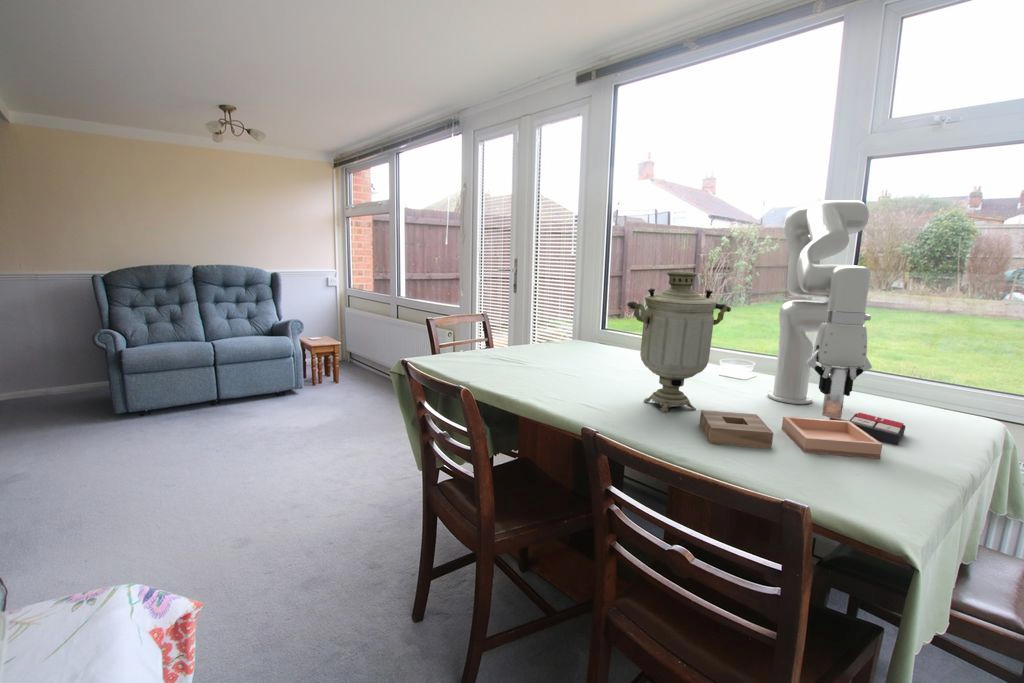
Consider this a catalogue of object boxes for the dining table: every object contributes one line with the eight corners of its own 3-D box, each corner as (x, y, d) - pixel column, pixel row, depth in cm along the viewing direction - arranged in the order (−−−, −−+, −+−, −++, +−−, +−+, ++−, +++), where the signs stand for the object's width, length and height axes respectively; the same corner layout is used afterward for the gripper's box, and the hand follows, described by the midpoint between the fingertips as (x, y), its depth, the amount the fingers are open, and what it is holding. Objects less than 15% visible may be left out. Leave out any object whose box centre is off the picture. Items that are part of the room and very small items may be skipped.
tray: (781, 428, 133) (783, 416, 132) (847, 434, 130) (849, 421, 130) (804, 452, 118) (806, 438, 117) (880, 458, 115) (882, 444, 114)
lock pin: (819, 412, 125) (825, 365, 123) (836, 414, 124) (843, 366, 122) (825, 417, 121) (832, 369, 119) (844, 419, 120) (851, 370, 118)
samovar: (706, 393, 165) (718, 271, 158) (733, 419, 140) (748, 275, 133) (615, 389, 168) (622, 269, 161) (624, 414, 142) (634, 272, 135)
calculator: (900, 433, 122) (830, 415, 132) (896, 449, 123) (827, 430, 133) (906, 422, 130) (840, 406, 140) (902, 438, 131) (836, 420, 141)
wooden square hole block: (699, 424, 135) (700, 410, 135) (754, 428, 133) (756, 414, 132) (709, 443, 122) (711, 427, 121) (771, 448, 119) (773, 432, 119)
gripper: (876, 318, 120) (865, 392, 124) (800, 315, 123) (791, 387, 127) (893, 322, 113) (881, 400, 116) (812, 319, 116) (802, 395, 119)
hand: (834, 392), depth 121 cm, fingers closed on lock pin, 4 cm apart
